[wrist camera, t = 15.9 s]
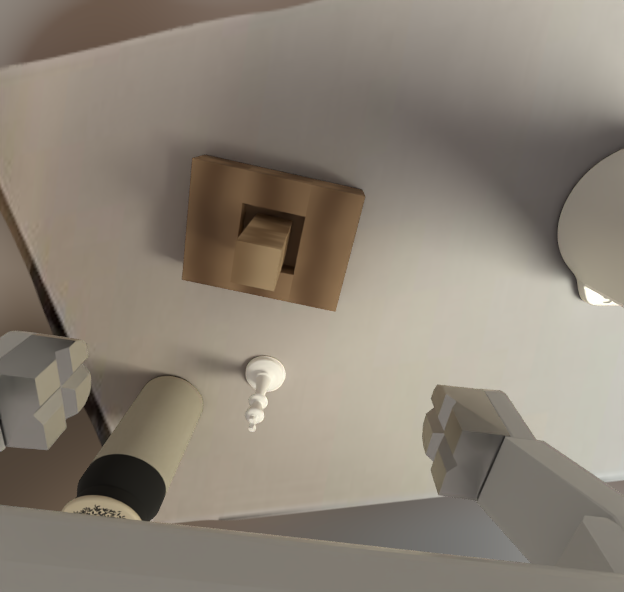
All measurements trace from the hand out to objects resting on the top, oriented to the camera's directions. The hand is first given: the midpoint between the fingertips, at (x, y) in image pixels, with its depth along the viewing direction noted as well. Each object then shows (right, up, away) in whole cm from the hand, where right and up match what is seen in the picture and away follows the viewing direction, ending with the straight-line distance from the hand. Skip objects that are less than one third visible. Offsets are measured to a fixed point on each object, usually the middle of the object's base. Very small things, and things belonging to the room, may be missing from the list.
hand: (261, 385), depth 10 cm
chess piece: (-5, -7, +41) cm, 42 cm away
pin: (-3, +8, +32) cm, 33 cm away
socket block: (-3, +9, +33) cm, 35 cm away
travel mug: (-17, -11, +43) cm, 48 cm away
